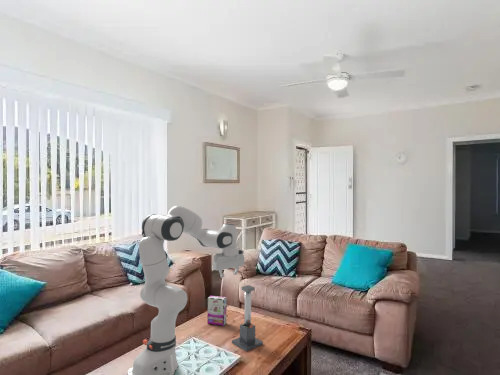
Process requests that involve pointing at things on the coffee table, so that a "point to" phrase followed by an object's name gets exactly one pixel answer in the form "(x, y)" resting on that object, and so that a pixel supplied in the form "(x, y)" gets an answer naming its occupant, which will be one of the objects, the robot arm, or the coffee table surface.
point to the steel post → (247, 304)
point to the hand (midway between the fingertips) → (228, 275)
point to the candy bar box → (217, 310)
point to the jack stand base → (247, 338)
